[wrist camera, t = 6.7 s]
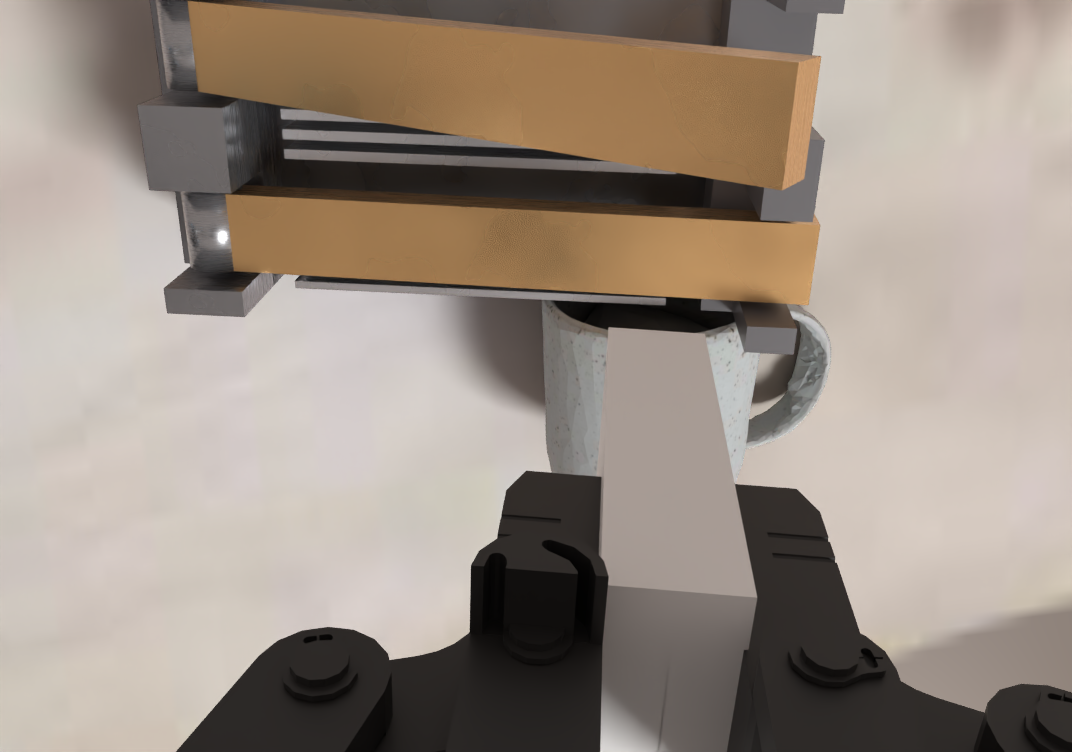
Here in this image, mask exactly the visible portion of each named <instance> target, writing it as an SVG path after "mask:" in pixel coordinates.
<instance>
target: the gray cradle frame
mask: <svg viewBox="0 0 1072 752" xmlns="http://www.w3.org/2000/svg"><path fill="white" fill-rule="evenodd" d="M243 1H253V2H264V3H274V4H284V5H295V6H305V7H315V8H326V9H336V10H346V11H357V12H367V13H378V14H388V15H398V16H409V17H419V18H429V19H440V20H450V21H461V22H471V23H481V24H492V25H502V26H512V27H523V28H533V29H543V30H554V31H564V32H575V33H585V34H595V35H606V36H616V37H626V38H637V39H647V40H658V41H668V42H678V43H689V44H699V45H709V46H719V37H720V27H721V17H722V6H723V0H243ZM150 6H151V13H152V21H153V28H154V36H155V43H156V51H157V58H158V66H159V73H160V81H161V88H162V95H161V96H158V97H156V98H153V99H151V100H148V101H146V102H143V103H141V104H138V105H137V108H138V115H139V122H140V129H141V136H142V142H143V149H144V156H145V163H146V170H147V177H148V184H149V190H157V191H175V193H176V201H177V208H178V216H179V223H180V231H181V238H182V246H183V253H184V260H185V263H190V258H189V250H188V243H187V235H186V227H185V220H184V212H183V204H182V197H181V192H205V193H229V194H231V193H233V192H234V191H235V190H237V189H238V188H239V187H241V186H242V185H261V186H280V187H300V188H320V189H339V190H359V191H378V192H398V193H418V194H437V195H457V196H477V197H496V198H516V199H535V200H555V201H575V202H594V203H614V204H633V205H653V206H673V207H692V208H703V204H704V193H705V183H706V178H705V177H699V176H693V175H687V174H682V173H676V172H670V171H664V170H658V169H652V168H646V167H640V166H634V165H628V164H623V163H617V162H611V161H605V160H599V159H593V158H587V157H581V156H575V155H570V154H564V153H558V152H552V151H546V150H540V149H534V148H528V147H522V146H517V145H511V144H505V143H499V142H493V141H487V140H481V139H475V138H469V137H464V136H458V135H452V134H446V133H440V132H434V131H428V130H422V129H416V128H410V127H405V126H399V125H393V124H387V123H381V122H375V121H369V120H363V119H357V118H352V117H346V116H340V115H334V114H328V113H322V112H316V111H310V110H304V109H299V108H293V107H287V106H281V105H275V104H269V103H263V102H257V101H251V100H246V99H240V98H234V97H228V96H222V95H216V94H210V93H204V92H198V91H177V90H171V89H168V88H167V83H166V75H165V68H164V60H163V52H162V45H161V37H160V29H159V22H158V14H157V7H156V0H150ZM283 275H284V274H274V273H257V272H240V271H232V272H226V273H203V272H198V271H195V270H193V269H192V268H191V266H190V267H189V268H188V269H186V270H185V271H184V272H183V273H182V274H180V275H179V276H178V277H177V278H176V279H174V280H173V281H172V282H171V283H170V284H168V285H167V286H166V287H165V288H164V295H165V302H166V308H167V313H173V314H193V315H213V316H234V317H245V316H246V315H247V314H248V313H249V312H250V311H251V310H252V308H253V307H254V306H255V305H256V304H257V303H258V302H259V301H260V300H261V299H262V298H263V296H264V295H265V294H266V293H267V292H268V291H269V290H270V289H271V288H272V287H273V286H274V285H275V283H276V282H277V281H278V280H279V279H280V278H281V277H282V276H283ZM295 287H296V288H306V289H327V290H348V291H369V292H390V293H412V294H433V295H454V296H475V297H496V298H518V299H539V300H560V301H581V302H602V303H624V304H645V305H666V297H663V296H646V295H629V294H612V293H595V292H578V291H562V290H545V289H528V288H511V287H494V286H477V285H460V284H443V283H426V282H409V281H392V280H375V279H358V278H341V277H324V276H307V275H300V276H299V277H298V278H297V279H296V280H295Z"/></svg>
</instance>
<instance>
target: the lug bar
mask: <svg viewBox="0 0 1072 752" xmlns="http://www.w3.org/2000/svg"><path fill="white" fill-rule="evenodd" d="M844 4H845V0H723V6H722V17H721V27H720V37H719V46H720V47H730V48H740V49H751V50H761V51H772V52H782V53H792V54H803V55H812V52H813V44H814V37H815V29H816V22H817V15H818V13H832V14H843V11H844ZM824 142H825V140H824V139H823V138H822V137H821V136H820V135H819V133H818V132H817V131H816V130H815V129H814V128H813V127H812V126H811V133H810V141H809V148H808V155H807V162H806V169H805V177H804V179H803V180H801V181H799V182H797V183H796V184H794V185H792V186H790V187H788V188H786V189H784V190H776V189H770V188H764V187H758V186H752V185H746V184H740V183H735V182H729V181H723V180H717V179H711V178H706V183H705V193H704V204H703V208H712V209H732V210H751V211H756V212H757V214H758V216H759V218H760V220H770V221H794V222H813V217H814V210H815V204H816V197H817V190H818V183H819V176H820V169H821V162H822V155H823V148H824ZM698 301H699V305H700V310H706V311H727V312H733V316H734V319H735V322H736V326H737V329H738V333H739V336H740V340H741V343H742V346H743V350H744V352H750V353H770V354H791V355H794V348H795V341H796V334H797V327H796V325H795V322H794V320H793V318H792V315H791V313H790V311H789V309H788V306H787V304H782V303H765V302H748V301H731V300H714V299H698Z"/></svg>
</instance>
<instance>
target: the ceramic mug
mask: <svg viewBox="0 0 1072 752" xmlns="http://www.w3.org/2000/svg"><path fill="white" fill-rule="evenodd" d="M787 306H788V309H789V311H790V313H791V315H792V318H793V319H795V320H798V321H799V324H800V332H801V335H802V336H801V342H800V347H799V351H798V356H797V360H796V364H795V368H794V371H793V375H792V378H791V379H790V381H789V382H788V391H787V392H786V393H785V395H784V396H783V397H782V398H781V400H779V401H778V402H777V403H776V404H775V405H773V406H772V407H771V408H770V409H768V410H767V411H766V412H764V413H762V414H760V415H757V416H755V417H754V418H752V419H750V420H749V415H750V408H751V402H752V397H753V391H754V386H755V380H756V373H757V368H758V362H759V356H760V353H750V352H744V350H743V346H742V343H741V340H740V336H739V333H738V329H737V326H736V322H735V319H734V316H733V312H727V311H706V310H700V305H699V301H698V299H697V298H680V297H666V305H645V304H624V303H602V302H581V301H560V300H542V318H543V355H544V384H545V400H546V444H547V453H548V457H549V461H550V466H551V471H552V473H560V474H573V475H586V476H597V466H598V453H599V441H600V428H601V416H602V403H603V391H604V378H605V366H606V353H607V341H608V328H609V327H612V328H627V329H641V330H656V331H670V332H685V333H699V334H705V336H706V341H707V346H708V351H709V356H710V362H711V367H712V372H713V377H714V382H715V387H716V392H717V397H718V402H719V407H720V412H721V417H722V422H723V427H724V432H725V437H726V442H727V447H728V452H729V457H730V462H731V467H732V473H733V478H734V483H736V480H737V477H738V475H739V472H740V469H741V466H742V463H743V459H744V454H745V449H749V448H753V447H759V446H761V445H763V444H767V443H770V442H773V441H775V440H776V439H778V438H780V437H782V436H784V435H786V434H788V433H789V432H791V431H792V430H793V429H795V428H796V427H797V426H798V425H799V424H800V423H801V422H802V421H803V420H804V419H805V418H806V416H807V415H808V414H809V413H810V411H811V410H812V409H813V408H814V406H815V405H816V403H817V401H818V399H819V397H820V395H821V393H822V390H823V388H824V386H825V384H826V381H827V377H828V373H829V369H830V363H831V344H830V340H829V337H828V334H827V332H826V330H825V328H824V327H823V326H822V325H821V324H820V322H819V321H818V320H817V319H816V318H815V317H814V316H812V315H811V314H810V313H809V312H807V311H805V310H804V309H802V308H801V307H800V306H798V305H797V304H787Z"/></svg>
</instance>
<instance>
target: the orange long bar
mask: <svg viewBox="0 0 1072 752" xmlns="http://www.w3.org/2000/svg"><path fill="white" fill-rule="evenodd" d="M181 197H182V204H183V212H184V220H185V227H186V235H187V243H188V250H189V258H190V265H191V268H192V269H193V270H195V271H198V272H203V273H226V272H232V271H240V272H257V273H274V274H291V275H307V276H324V277H341V278H358V279H375V280H392V281H409V282H426V283H443V284H460V285H477V286H494V287H511V288H528V289H545V290H562V291H578V292H595V293H612V294H629V295H646V296H663V297H680V298H697V299H714V300H731V301H748V302H765V303H782V304H799V305H808V304H809V297H810V291H811V284H812V277H813V270H814V264H815V257H816V250H817V244H818V237H819V230H820V224H819V222H818V220H817V218H816V216H815V215H814V217H813V222H794V221H770V220H760V218H759V216H758V214H757V212H756V211H751V210H732V209H712V208H692V207H673V206H653V205H633V204H614V203H594V202H575V201H555V200H535V199H516V198H496V197H477V196H457V195H437V194H418V193H398V192H378V191H359V190H339V189H320V188H300V187H280V186H261V185H242V186H241V187H239V188H238V189H237V190H235V191H234V192H233V193H231V194H229V193H205V192H181Z"/></svg>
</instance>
